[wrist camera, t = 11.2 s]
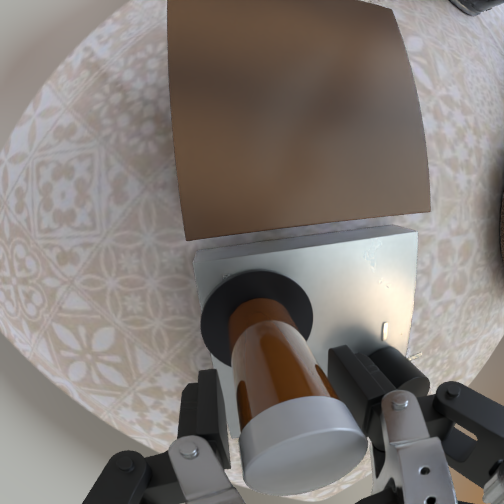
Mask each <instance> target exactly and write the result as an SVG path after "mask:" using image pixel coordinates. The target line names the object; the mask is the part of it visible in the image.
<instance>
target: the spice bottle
mask: <svg viewBox="0 0 504 504" xmlns="http://www.w3.org/2000/svg"><path fill="white" fill-rule="evenodd" d="M228 338H229V348H230V357H231V366H232V374H233V383H234V391H235V399H236V407H237V415H238V422H239V430H240V437H239V441H238V445H239V453H240V460H241V467H242V474H243V480H244V482H245V483H246V485H247V486H248V487H249V488H251V489H252V490H254V491H256V492H259V493H262V494H266V495H273V496H288V495H297V494H302V493H307V492H310V491H314V490H317V489H320V488H322V487H325V486H327V485H329V484H331V483H333V482H335V481H337V480H339V479H341V478H342V477H344V476H345V475H347V474H348V473H349V472H351V471H352V470H353V469H354V468H355V467H356V466H357V465H358V464H359V463H360V462H361V460H362V459H363V457H364V456H365V454H366V451H367V448H368V440H367V437H366V436H365V434H364V432H363V431H362V429H361V427H360V426H359V424H358V422H357V421H356V419H355V417H354V416H353V414H352V412H351V411H350V409H349V408H348V406H347V405H345V404H344V403H343V402H341V400H340V398H339V397H338V395H337V393H336V392H335V390H334V388H333V386H332V385H331V383H330V381H329V380H328V378H327V376H326V375H325V373H324V371H323V369H322V368H321V366H320V364H319V363H318V361H317V359H316V358H315V356H314V354H313V353H312V351H311V349H310V347H309V346H308V344H307V342H306V341H305V339H304V337H303V336H302V334H301V332H300V330H299V329H298V327H297V325H296V324H295V322H294V320H293V319H292V317H291V315H290V314H289V312H288V310H287V309H286V308H285V307H284V306H283V305H282V304H281V303H279V302H277V301H275V300H272V299H268V298H256V299H252V300H249V301H247V302H245V303H243V304H241V305H240V306H239V307H238V308H236V310H235V311H234V312H233V313H232V315H231V317H230V319H229V322H228Z"/></svg>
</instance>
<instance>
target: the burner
mask: <svg viewBox="0 0 504 504" xmlns="http://www.w3.org/2000/svg"><path fill="white" fill-rule="evenodd" d="M256 298H268V299H272V300H275V301H277V302H279V303H281V304H282V305H283V306H284V307H285V308H286V309H287V310H288V312H289V314H290V315H291V317H292V319H293V320H294V322H295V324H296V325H297V327H298V329H299V330H300V332H301V334H302V336H303V337H304V339H305V341H306V342H307V340H308V338H309V336H310V333H311V330H312V326H313V309H312V305H311V302H310V299H309V297H308V295H307V294H306V292H305V291H304V290H303V288H302V287H301V286H300V285H299V284H298V283H297V282H296V281H295V280H293V279H292V278H290V277H289V276H287V275H285V274H282V273H280V272H277V271H272V270H266V269H256V270H248V271H243V272H241V273H238V274H235V275H233V276H231V277H229V278H227V279H226V280H224V281H223V282H221V283H220V284H219V285H218V286H217V287H216V288H215V289H214V290H213V291H212V292H211V294H210V295H209V297H208V298H207V300H206V302H205V304H204V307H203V310H202V314H201V334H202V337H203V341H204V343H205V345H206V347H207V348H208V350H209V351H210V352H211V354H212V355H213V356H214V357H215V358H217V359H218V360H219V361H220V362H222V363H223V364H225V365H227V366H229V367H232V366H231V357H230V348H229V338H228V322H229V319H230V317H231V315H232V313H233V312H234V311H235V310H236V308H238V307H239V306H240V305H241V304H243V303H245V302H247V301H249V300H252V299H256Z"/></svg>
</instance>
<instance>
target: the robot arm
mask: <svg viewBox="0 0 504 504" xmlns="http://www.w3.org/2000/svg"><path fill="white" fill-rule="evenodd" d="M450 1H451V2H452V3H454V4H455V5H456V6H457V7H458V8H460V9H461V10H462V11H464V12H465V13H467V14H469V15H471V16H476V15H478V14H480V13H481V12H484V11H485V10H486V11H487V10H490V9H492V7H495V6H498V5H500V4H503V3H504V0H450ZM327 378H328V380H329V381H330V383H331V385H332V386H333V388H334V390H335V392H336V393H337V395H338V397H339V398H340V400H341V402H343V403H344V404H345V405H347V406H348V408H349V409H350V411H351V412H352V414H353V416H354V417H355V419H356V421H357V422H358V424H359V426H360V427H361V429H362V431H363V432H364V434H365V436H366V437H369V438H370V440H371V443H370V456H371V466H372V478H373V487H372V492H371V496H369V497H366V498H363V499H361V500H360V501H358V502H357V503H355V504H473V503H467V502H462V501H457V498H456V494H455V490H454V486H453V482H452V478H451V474H450V471H449V467H448V465H449V466H450V467H451V468H453V469H454V470H456V471H457V472H459V473H461V474H462V475H463V476H465V477H466V478H468V479H469V480H471V481H472V482H474V483H475V484H477V485H478V486H480V487H481V488H483V489H484V495H483V502H485V503H491V504H504V406H502V405H500V404H498V403H497V402H495V401H493V400H491V399H489V398H487V397H485V396H483V395H482V394H479V393H478V392H476V391H474V390H472V389H470V388H468V387H467V386H465V385H463V384H461V383H459V382H454V381H449V382H445V383H443V384H441V385H440V386H439V387H438V388H437V391H436V394H433V395H428V396H423V397H416V396H415V395H414V394H412V393H411V392H408V391H405V390H397V389H396V388H395V387H394V385H393V384H392V383H391V382H390V381H389V380H388V378H387V377H386V376H385V375H384V374H383V373H382V372H381V371H380V369H379V368H378V367H377V366H376V365H375V364H374V362H373V361H372V360H371V359H370V358H369V357H368V356H366V355H364V354H362V353H360V352H358V353H353V352H352V350H351V349H350V348H349V347H348V346H347V345H346V344H345V345H341V346H337V347H333V348H329V350H328V371H327ZM456 423H457V424H458V425H460V426H462V427H463V428H465V429H466V430H468V431H470V432H471V433H473V434H474V435H476V437H477V439H478V441H476V440H474V439H472V438H471V437H469V436H467V435H465V434H464V433H462V432H461V431H459V430H458V429H456V428H455V427H454V426H455V424H456ZM224 469H231V463H230V453H229V443H228V433H227V421H226V410H225V402H224V397H223V392H222V388H221V384H220V380H219V375H218V371H217V369H209V370H200V371H199V374H198V383H189V384H187V386H186V387H185V389H184V390H183V391H182V397H181V406H180V416H179V425H178V436H177V440H175V441H174V442H173V443H172V444H171V445H170V447H169V450H168V451H166V452H164V453H161V454H158V455H154V456H150V457H146V458H144V457H143V456H142V455H141V454H140V453H138V452H135V451H129V450H128V451H122V452H119V453H117V454H115V455H113V456H112V457H111V459H110V460H109V462H108V463H107V465H106V466H105V468H104V469H103V471H102V473H101V474H100V476H99V477H98V479H97V481H96V482H95V484H94V485H93V487H92V489H91V490H90V492H89V493H88V495H87V497H86V498H85V500H84V501H83V503H82V504H180V503H184V502H185V504H246V503H245V502H244V500H243V499H242V497H241V495H240V494H239V492H238V491H237V489H236V488H235V487H233V485H232V484H231V482H230V480H229V479H228V477H227V475H226V474H225V472H224Z"/></svg>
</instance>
